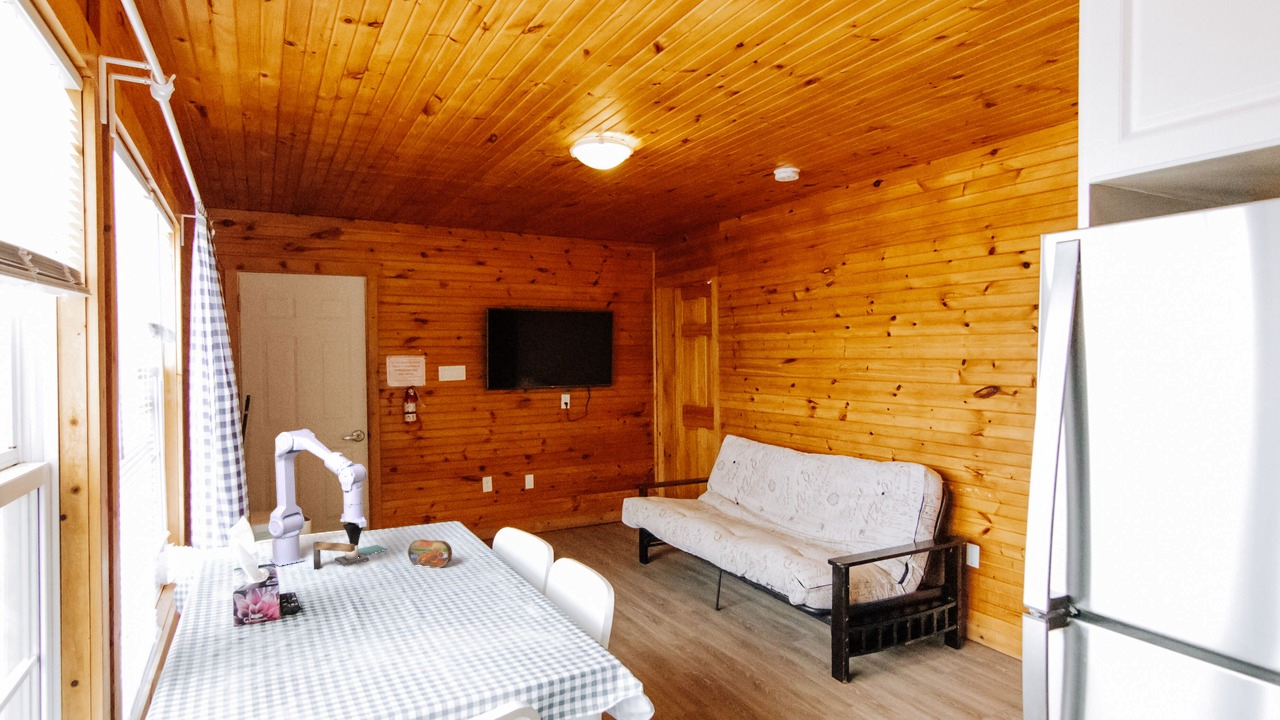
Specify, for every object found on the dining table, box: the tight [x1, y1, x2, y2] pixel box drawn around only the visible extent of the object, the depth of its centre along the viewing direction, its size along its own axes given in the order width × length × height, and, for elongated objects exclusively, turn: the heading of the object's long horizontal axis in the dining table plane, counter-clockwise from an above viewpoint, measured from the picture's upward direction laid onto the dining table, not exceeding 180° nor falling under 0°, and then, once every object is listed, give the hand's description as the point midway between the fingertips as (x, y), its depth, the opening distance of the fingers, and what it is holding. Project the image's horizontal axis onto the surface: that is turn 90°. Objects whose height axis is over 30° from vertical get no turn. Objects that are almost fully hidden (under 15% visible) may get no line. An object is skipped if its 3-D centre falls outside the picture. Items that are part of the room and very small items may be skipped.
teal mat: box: [358, 544, 388, 556], centre depth 235 cm, size 8×8×1 cm
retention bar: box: [312, 541, 355, 570], centre depth 215 cm, size 14×2×8 cm, turn 75°
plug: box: [344, 541, 359, 561], centre depth 225 cm, size 4×4×6 cm
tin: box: [407, 539, 453, 569], centre depth 218 cm, size 15×3×8 cm, turn 73°
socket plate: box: [334, 552, 370, 567], centre depth 225 cm, size 8×8×1 cm
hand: (354, 545), depth 216 cm, fingers closed, pressing on retention bar
